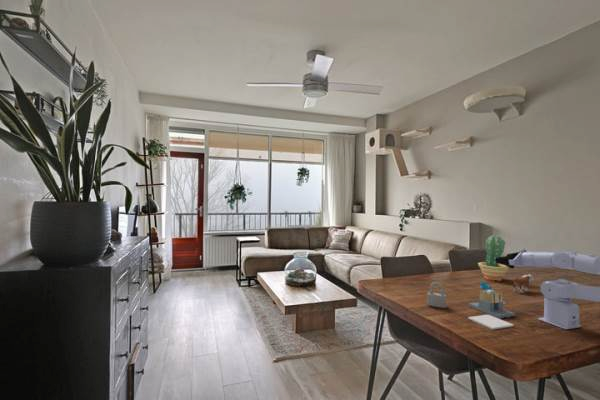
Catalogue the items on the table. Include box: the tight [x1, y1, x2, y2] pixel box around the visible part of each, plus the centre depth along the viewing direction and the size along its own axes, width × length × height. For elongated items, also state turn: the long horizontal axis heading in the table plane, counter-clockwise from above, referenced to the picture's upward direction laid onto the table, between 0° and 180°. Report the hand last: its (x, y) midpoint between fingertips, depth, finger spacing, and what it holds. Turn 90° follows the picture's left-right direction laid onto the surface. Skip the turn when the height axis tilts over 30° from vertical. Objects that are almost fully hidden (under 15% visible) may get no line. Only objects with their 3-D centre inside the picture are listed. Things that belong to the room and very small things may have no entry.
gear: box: [479, 281, 496, 291], centre depth 139 cm, size 11×6×10 cm
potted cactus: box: [477, 235, 510, 282], centre depth 177 cm, size 15×15×25 cm
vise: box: [468, 289, 516, 319], centre depth 124 cm, size 14×12×8 cm
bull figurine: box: [512, 273, 535, 294], centre depth 153 cm, size 4×13×8 cm, turn 112°
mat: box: [468, 314, 514, 331], centre depth 111 cm, size 10×10×1 cm
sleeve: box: [479, 289, 503, 303], centre depth 123 cm, size 6×6×4 cm
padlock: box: [426, 281, 447, 309], centre depth 128 cm, size 7×4×10 cm, turn 64°
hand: (501, 258), depth 131 cm, fingers open, 7 cm apart
